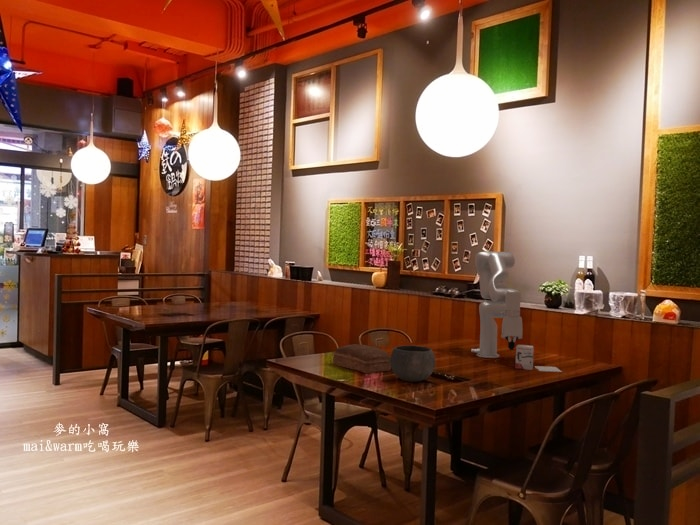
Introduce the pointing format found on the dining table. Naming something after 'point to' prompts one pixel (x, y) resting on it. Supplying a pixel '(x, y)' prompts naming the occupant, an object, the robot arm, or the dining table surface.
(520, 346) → the ink box
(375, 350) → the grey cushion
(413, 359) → the bowl
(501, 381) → the dining table surface
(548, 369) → the mat
